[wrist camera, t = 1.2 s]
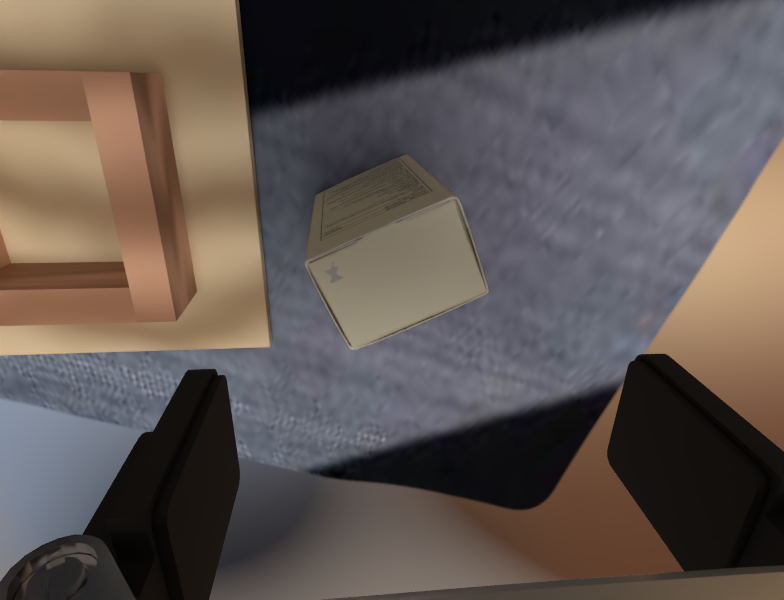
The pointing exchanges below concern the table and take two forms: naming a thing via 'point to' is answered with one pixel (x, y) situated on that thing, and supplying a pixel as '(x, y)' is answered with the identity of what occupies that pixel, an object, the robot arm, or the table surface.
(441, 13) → the table surface
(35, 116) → the socket stand
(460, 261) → the skincare box
